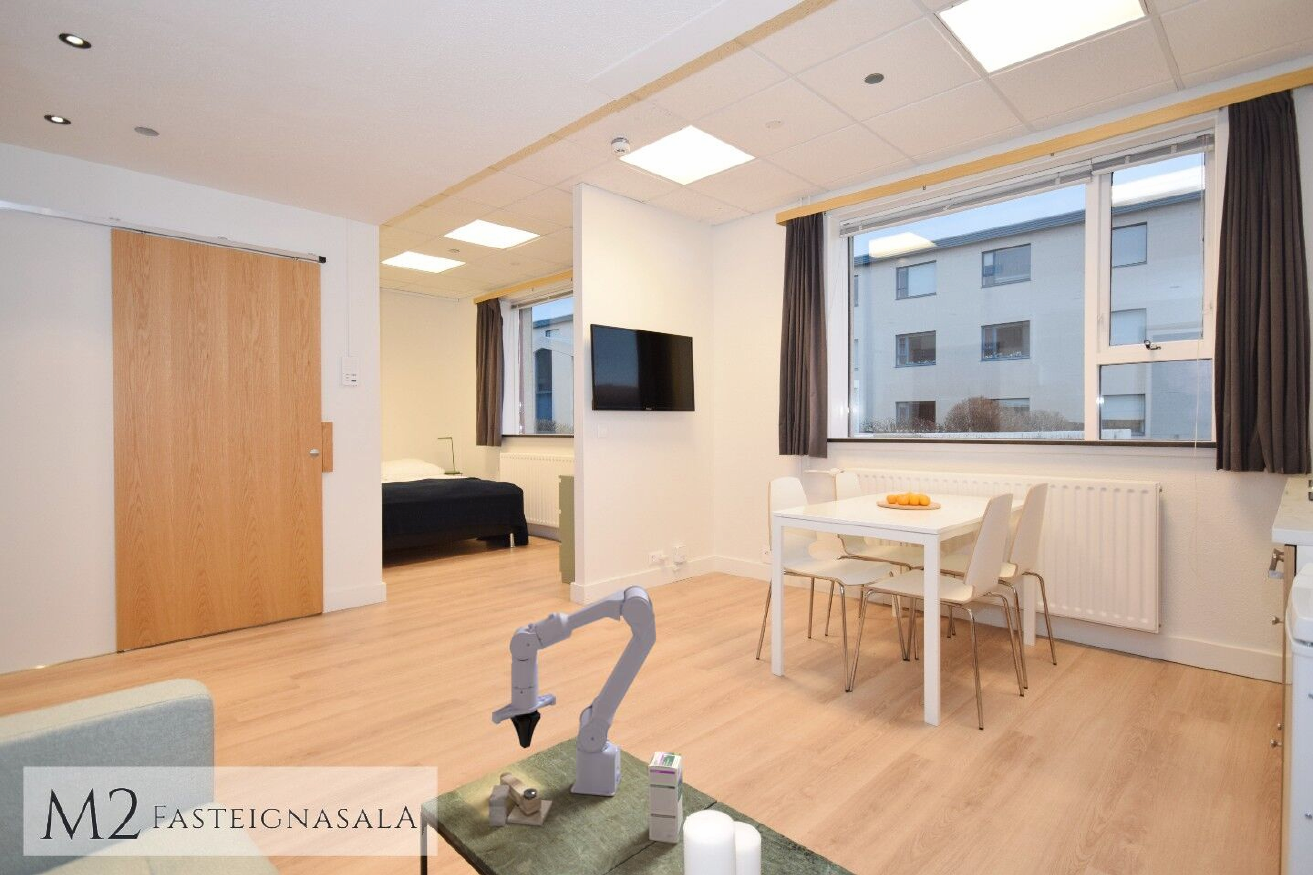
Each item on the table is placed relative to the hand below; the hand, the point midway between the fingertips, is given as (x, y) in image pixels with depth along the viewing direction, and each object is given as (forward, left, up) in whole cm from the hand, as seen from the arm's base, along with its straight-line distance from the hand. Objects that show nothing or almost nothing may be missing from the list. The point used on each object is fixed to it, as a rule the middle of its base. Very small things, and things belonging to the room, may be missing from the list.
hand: (524, 745), depth 140 cm
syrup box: (-32, +11, -9) cm, 35 cm away
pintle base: (-4, +9, -9) cm, 13 cm away
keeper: (+1, +11, -9) cm, 14 cm away
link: (-1, +6, -8) cm, 10 cm away
